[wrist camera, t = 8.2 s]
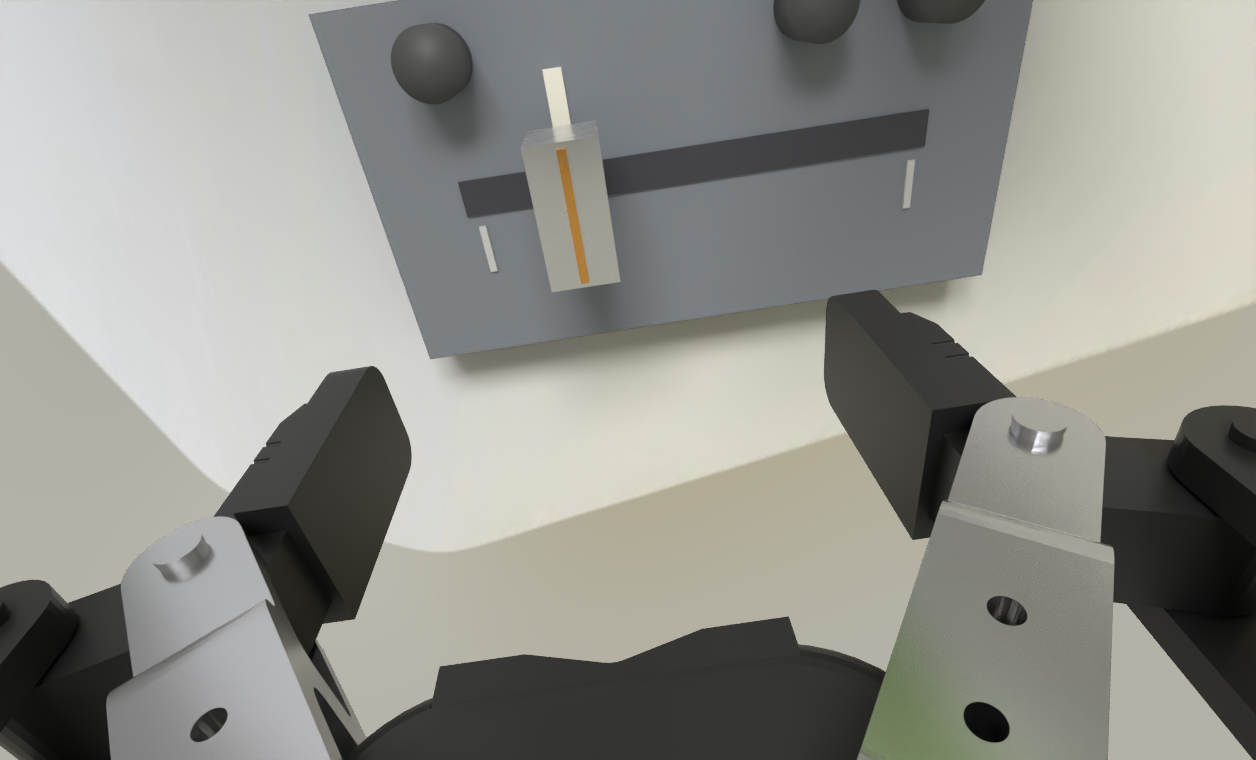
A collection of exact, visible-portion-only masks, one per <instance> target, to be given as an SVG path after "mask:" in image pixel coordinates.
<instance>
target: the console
mask: <svg viewBox="0 0 1256 760" xmlns="http://www.w3.org/2000/svg"><path fill="white" fill-rule="evenodd" d="M1032 2H1033V0H397V1H391V2H385V3H378V4H372V5H366V6H359V7H353V8H347V9H340V10H334V11H328V12H321V13H315V14H309V17H310V20H311V23H312V26H313V28H314V31H315V34H316V37H317V40H318V43H319V45H320V48H321V51H322V54H323V57H324V60H325V62H326V65H327V68H328V71H329V74H330V77H331V79H332V82H333V85H334V88H335V91H336V94H337V96H338V99H339V102H340V105H341V108H342V111H343V113H344V116H345V119H346V122H347V125H348V128H349V130H350V133H351V136H352V139H353V142H354V145H355V147H356V150H357V153H358V156H359V159H360V161H361V164H362V167H363V170H364V173H365V176H366V178H367V181H368V184H369V187H370V190H371V193H372V195H373V198H374V201H375V204H376V207H377V210H378V212H379V215H380V218H381V221H382V224H383V227H384V229H385V232H386V235H387V238H388V241H389V244H390V246H391V249H392V252H393V255H394V258H395V261H396V263H397V266H398V269H399V272H400V275H401V278H402V280H403V283H404V286H405V289H406V292H407V295H408V297H409V300H410V303H411V306H412V309H413V312H414V314H415V317H416V320H417V323H418V326H419V329H420V331H421V334H422V337H423V340H424V343H425V345H426V348H427V351H428V354H429V357H430V359H435V358H441V357H448V356H455V355H461V354H468V353H474V352H481V351H487V350H494V349H500V348H507V347H513V346H520V345H526V344H533V343H540V342H546V341H553V340H559V339H566V338H572V337H579V336H585V335H592V334H598V333H605V332H612V331H618V330H625V329H631V328H638V327H644V326H651V325H657V324H664V323H670V322H677V321H683V320H690V319H697V318H703V317H710V316H716V315H723V314H729V313H736V312H742V311H749V310H755V309H762V308H769V307H775V306H782V305H788V304H795V303H801V302H808V301H814V300H821V299H827V298H830V297H831V296H835V295H842V294H848V293H855V292H861V291H868V290H877V291H880V290H886V289H893V288H899V287H906V286H912V285H919V284H925V283H932V282H939V281H945V280H952V279H958V278H965V277H971V276H978V275H982V271H983V265H984V260H985V255H986V249H987V244H988V238H989V233H990V228H991V222H992V217H993V212H994V206H995V201H996V196H997V190H998V185H999V179H1000V174H1001V169H1002V163H1003V158H1004V153H1005V147H1006V142H1007V137H1008V131H1009V126H1010V120H1011V115H1012V110H1013V104H1014V99H1015V94H1016V88H1017V83H1018V78H1019V72H1020V67H1021V61H1022V56H1023V51H1024V45H1025V40H1026V35H1027V29H1028V24H1029V19H1030V13H1031V8H1032ZM594 120H596V124H597V130H598V136H599V142H600V149H601V156H602V162H603V169H604V176H605V182H606V189H607V196H608V202H609V209H610V216H611V222H612V229H613V236H614V242H615V249H616V256H617V262H618V269H619V276H620V282H616V283H610V284H603V285H597V286H590V287H584V288H577V289H571V290H564V291H558V292H552V291H551V287H550V282H549V277H548V273H547V268H546V264H545V259H544V254H543V250H542V245H541V241H540V236H539V231H538V227H537V222H536V217H535V213H534V208H533V204H532V199H531V194H530V190H529V185H528V180H527V176H526V171H525V167H524V162H523V157H522V153H521V145H522V143H523V140H524V137H525V135H526V132H527V131H530V130H536V129H543V128H549V127H556V126H562V125H569V124H575V123H581V122H588V121H594Z"/></svg>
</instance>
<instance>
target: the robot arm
mask: <svg viewBox="0 0 1256 760" xmlns="http://www.w3.org/2000/svg"><path fill="white" fill-rule="evenodd" d="M824 381H825V388H826V393H827V396H828V400H829V402H830V405H831V407H832V408H833V410H834V412H835V413H836V415H837V417H838V418H839V420H840V422H841V423H842V425H843V427H844V428H845V430H846V431H847V433H848V435H849V436H850V438H851V439H852V441H853V443H854V445H855V446H856V448H857V450H858V451H859V453H860V454H861V456H862V457H863V459H864V461H865V463H866V464H867V466H868V468H869V469H870V471H871V472H872V474H873V476H874V477H875V479H876V481H877V482H878V484H879V486H880V487H881V489H882V490H883V492H884V494H885V495H886V497H887V499H888V500H889V502H890V504H891V505H892V507H893V509H894V510H895V512H896V513H897V515H898V517H899V518H900V520H901V522H902V523H903V525H904V527H905V528H906V530H907V532H908V533H909V535H910V537H911V538H912V540H915V539H922V538H929V537H930V539H929V542H928V545H927V548H926V551H925V554H924V557H923V560H922V563H921V566H920V570H919V572H918V576H917V579H916V582H915V585H914V588H913V591H912V594H911V597H910V600H909V603H908V606H907V609H906V612H905V615H904V618H903V621H902V624H901V627H900V630H899V634H898V637H897V640H896V643H895V646H894V649H893V652H892V655H891V658H890V661H889V664H888V667H887V670H886V672H885V671H883V670H881V669H880V668H878V667H875V666H873V665H871V664H869V663H866V662H864V661H862V660H860V659H857V658H855V657H852V656H848V655H846V654H842V653H840V652H836V651H833V650H828V649H823V648H819V647H814V646H808V645H799V644H798V643H797V640H796V637H795V634H794V631H793V628H792V626H791V622H790V619H789V617H782V618H776V619H768V620H762V621H754V622H747V623H740V624H734V625H727V626H720V627H713V628H706V629H701V630H698V631H696V632H693V633H691V634H688V635H686V636H683V637H681V638H678V639H676V640H674V641H671V642H668V643H666V644H663V645H661V646H658V647H656V648H653V649H651V650H648V651H646V652H643V653H641V654H638V655H635V656H633V657H630V658H628V659H625V660H623V661H619V662H614V663H600V662H591V661H582V660H572V659H563V658H553V657H543V656H533V655H518V656H511V657H504V658H497V659H490V660H483V661H477V662H469V663H462V664H455V665H448V666H441V667H440V669H439V673H438V677H437V682H436V687H435V691H434V696H433V698H432V699H429V700H427V701H424V702H422V703H420V704H418V705H416V706H415V707H412V708H411V709H409V710H407V711H405V712H403V713H401V714H400V715H398V716H397V717H395V718H394V719H392V720H391V721H389V722H388V723H386V724H384V725H383V726H382V727H380V728H379V729H378V730H376V732H374V733H373V734H371V735H370V736H369V737H367V738H366V736H365V734H364V732H363V730H362V728H361V726H360V724H359V722H358V720H357V718H356V716H355V714H354V711H353V709H352V708H351V705H350V703H349V701H348V699H347V697H346V695H345V693H344V691H343V689H342V687H341V685H340V683H339V681H338V679H337V677H336V675H335V672H334V671H333V668H332V667H331V664H330V662H329V660H328V658H327V656H326V654H325V652H324V650H323V649H322V647H321V646H320V644H319V643H318V641H317V640H316V638H317V635H318V633H319V630H320V628H321V626H322V624H325V623H331V622H337V621H344V620H352V619H355V617H356V615H357V612H358V609H359V606H360V604H361V601H362V598H363V596H364V593H365V590H366V587H367V585H368V582H369V579H370V577H371V574H372V571H373V568H374V565H375V563H376V560H377V558H378V555H379V552H380V549H381V546H382V544H383V541H384V539H385V536H386V533H387V530H388V528H389V525H390V522H391V520H392V517H393V514H394V511H395V509H396V506H397V503H398V500H399V498H400V495H401V492H402V490H403V487H404V484H405V481H406V479H407V476H408V473H409V470H410V467H411V446H410V441H409V437H408V435H407V432H406V430H405V427H404V425H403V422H402V420H401V418H400V415H399V413H398V410H397V408H396V406H395V403H394V401H393V398H392V396H391V394H390V391H389V389H388V386H387V384H386V382H385V379H384V377H383V375H382V374H381V372H380V371H379V370H378V369H377V368H376V367H374V366H370V367H363V368H357V369H350V370H344V371H337V372H331V373H329V374H328V375H327V376H326V377H325V379H324V380H323V382H322V383H321V384H320V386H319V387H318V389H317V390H316V392H315V393H314V395H313V396H312V398H311V399H310V401H309V402H308V404H304V405H302V406H301V407H300V408H299V409H297V410H296V411H295V412H294V413H292V414H291V415H290V416H289V417H287V418H286V419H285V420H284V421H282V422H281V423H280V424H279V426H278V427H277V429H276V430H275V431H274V433H273V434H272V436H271V437H270V438H269V440H268V441H267V443H266V447H263V448H262V450H261V451H260V452H259V454H258V455H257V457H256V458H255V459H254V464H251V465H250V466H249V468H248V469H247V471H246V472H245V473H244V475H243V476H242V478H241V479H240V480H239V482H238V483H237V485H236V486H235V487H234V489H233V490H232V492H231V493H230V495H229V496H228V497H227V499H226V500H225V502H224V503H223V504H222V506H221V507H220V509H219V510H218V511H217V513H216V514H215V515H214V517H210V518H205V519H201V520H198V521H194V522H192V523H189V524H186V525H184V526H182V527H180V528H177V529H175V530H173V531H172V532H170V533H168V534H166V535H165V536H163V537H162V538H160V539H158V540H157V541H156V542H154V543H153V544H151V545H150V546H149V547H147V548H146V549H145V550H144V551H143V552H142V553H141V554H139V556H138V557H137V558H136V559H135V560H134V561H133V562H132V563H131V565H130V566H129V567H128V569H127V570H126V572H125V574H124V576H123V579H122V582H121V584H119V585H116V586H114V587H111V588H108V589H105V590H103V591H100V592H97V593H94V594H92V595H89V596H86V597H83V598H81V599H78V600H75V601H72V602H70V603H67V602H66V601H65V600H64V599H63V598H62V597H61V596H60V595H59V594H58V593H57V592H56V591H55V590H54V589H53V588H52V587H51V586H50V585H49V584H48V583H46V582H45V581H41V580H27V581H21V582H17V583H13V584H10V585H7V586H4V587H1V588H0V746H2V747H3V748H4V749H5V750H7V751H8V752H9V753H11V754H12V755H13V756H14V757H16V758H17V759H18V760H1108V736H1109V708H1110V707H1109V706H1110V678H1111V677H1110V676H1111V648H1112V618H1113V602H1116V603H1123V604H1127V606H1128V607H1129V608H1130V609H1131V610H1132V612H1133V613H1134V614H1135V615H1136V617H1137V618H1138V619H1139V620H1140V621H1141V623H1142V624H1143V625H1144V626H1145V627H1146V629H1147V630H1148V631H1149V632H1150V634H1151V635H1152V636H1153V637H1154V639H1155V640H1156V641H1157V642H1158V643H1159V645H1160V646H1161V647H1162V648H1163V649H1164V651H1165V652H1166V653H1167V655H1168V656H1169V657H1170V658H1171V659H1172V661H1173V662H1174V663H1175V664H1176V666H1177V667H1178V668H1179V669H1180V670H1181V672H1182V673H1183V674H1184V675H1185V677H1186V678H1187V679H1188V680H1189V681H1190V683H1191V684H1192V685H1193V686H1194V687H1195V689H1196V690H1197V691H1198V693H1199V694H1200V695H1201V696H1202V697H1203V699H1204V700H1205V701H1206V702H1207V703H1208V705H1209V706H1210V707H1211V708H1212V710H1213V711H1214V712H1215V713H1216V715H1217V716H1218V717H1219V718H1220V719H1221V721H1222V722H1223V723H1224V724H1225V726H1226V727H1227V728H1228V729H1229V730H1230V732H1231V733H1232V734H1233V735H1234V737H1235V738H1236V739H1237V740H1238V741H1239V743H1240V744H1241V745H1242V746H1243V748H1244V749H1245V750H1246V751H1247V753H1248V754H1249V755H1250V756H1251V757H1252V759H1253V760H1256V409H1255V408H1250V407H1241V406H1210V407H1205V408H1200V409H1197V410H1194V411H1192V412H1191V413H1189V414H1188V415H1187V416H1186V417H1185V418H1184V419H1183V422H1182V424H1181V426H1180V429H1179V431H1178V434H1177V436H1176V438H1175V440H1158V439H1140V438H1123V437H1109V436H1104V433H1103V431H1102V430H1101V428H1099V426H1098V425H1097V424H1096V423H1095V422H1094V421H1093V420H1091V419H1090V418H1089V417H1087V416H1086V415H1084V414H1083V413H1081V412H1079V411H1077V410H1075V409H1073V408H1070V407H1068V406H1065V405H1063V404H1059V403H1056V402H1053V401H1048V400H1044V399H1036V398H1028V397H1016V396H1015V395H1014V394H1013V393H1011V392H1010V390H1008V389H1007V388H1006V387H1005V386H1004V385H1003V384H1002V383H1001V382H1000V381H999V380H998V379H996V378H995V377H994V376H993V375H992V374H991V373H990V372H989V371H988V370H987V369H986V368H984V367H983V366H982V365H981V364H980V363H979V362H978V361H977V360H976V359H975V358H974V357H969V353H968V352H967V351H966V350H965V349H964V348H963V347H962V346H961V345H959V344H958V343H955V342H954V339H953V338H952V337H951V336H950V335H949V334H947V333H946V332H945V331H944V330H943V329H942V328H941V327H940V326H939V325H938V324H936V323H934V322H931V321H929V320H927V319H925V318H922V317H920V316H918V315H915V314H913V313H911V312H908V313H900V312H899V311H898V310H897V309H896V308H895V307H894V306H893V305H892V304H891V303H890V302H889V301H888V300H887V299H886V298H884V297H883V296H882V295H881V294H880V293H879V292H878V291H877V290H868V291H861V292H855V293H848V294H842V295H835V296H831V297H830V298H829V300H828V303H827V308H826V331H825V359H824Z"/></svg>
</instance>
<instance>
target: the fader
mask: <svg viewBox="0 0 1256 760" xmlns="http://www.w3.org/2000/svg"><path fill="white" fill-rule="evenodd" d="M521 153H522V157H523V162H524V167H525V171H526V176H527V180H528V185H529V190H530V194H531V199H532V204H533V208H534V213H535V217H536V222H537V227H538V231H539V236H540V241H541V245H542V250H543V254H544V259H545V264H546V268H547V273H548V277H549V282H550V287H551V291H552V292H558V291H564V290H571V289H577V288H584V287H590V286H597V285H603V284H610V283H616V282H620V276H619V269H618V262H617V256H616V249H615V242H614V236H613V229H612V222H611V216H610V209H609V202H608V196H607V189H606V182H605V176H604V169H603V162H602V156H601V149H600V142H599V136H598V130H597V124H596V120H594V121H588V122H581V123H575V124H569V125H562V126H556V127H549V128H543V129H536V130H530V131H527V132H526V135H525V137H524V140H523V143H522V145H521Z"/></svg>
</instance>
